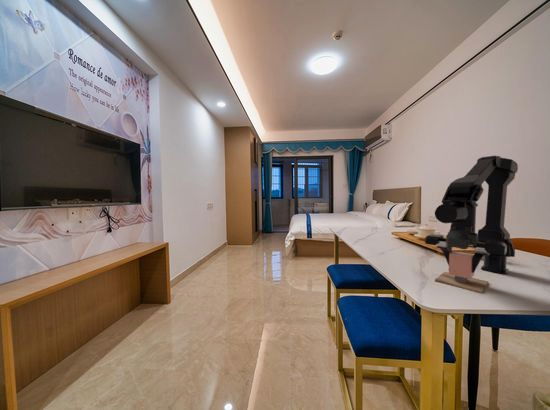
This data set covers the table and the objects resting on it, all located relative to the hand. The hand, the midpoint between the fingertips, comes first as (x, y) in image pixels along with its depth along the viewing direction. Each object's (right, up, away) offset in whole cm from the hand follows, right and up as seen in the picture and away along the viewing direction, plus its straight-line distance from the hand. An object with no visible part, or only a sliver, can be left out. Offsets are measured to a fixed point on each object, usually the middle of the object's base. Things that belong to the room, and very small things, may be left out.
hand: (461, 270), depth 67 cm
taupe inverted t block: (0, -4, 0) cm, 4 cm away
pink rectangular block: (0, -1, 0) cm, 1 cm away
